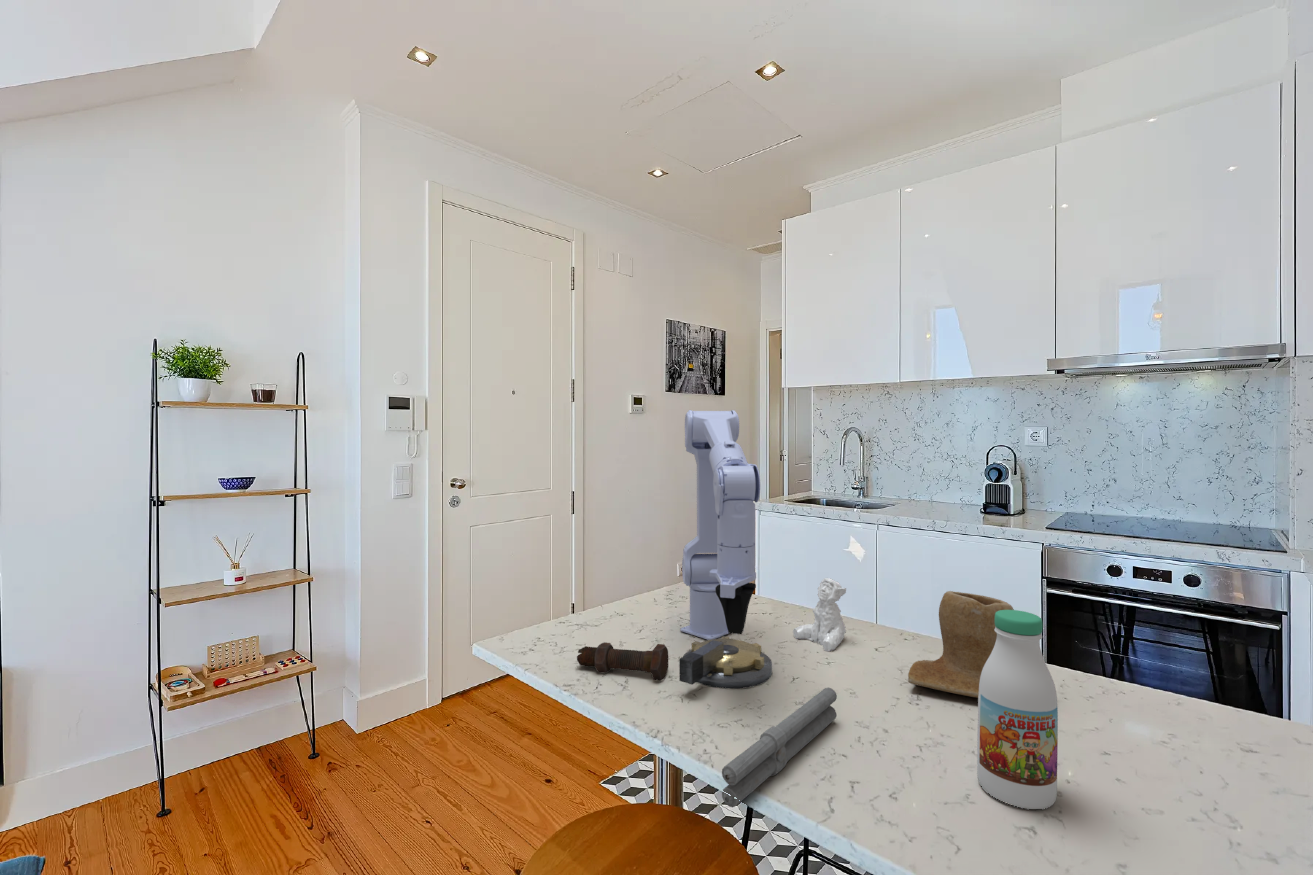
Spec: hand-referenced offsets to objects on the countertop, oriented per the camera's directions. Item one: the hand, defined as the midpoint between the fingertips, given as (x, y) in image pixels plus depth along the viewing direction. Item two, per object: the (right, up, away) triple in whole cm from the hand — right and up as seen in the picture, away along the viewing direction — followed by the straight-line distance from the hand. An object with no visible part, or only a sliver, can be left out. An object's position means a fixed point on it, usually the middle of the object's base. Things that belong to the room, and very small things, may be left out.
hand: (735, 632), depth 93 cm
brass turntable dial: (-2, -8, +6) cm, 10 cm away
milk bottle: (+28, -10, -24) cm, 39 cm away
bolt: (-18, -10, +8) cm, 22 cm away
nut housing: (0, -9, +9) cm, 13 cm away
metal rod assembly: (+4, -10, -18) cm, 21 cm away
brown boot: (+36, -10, +2) cm, 37 cm away
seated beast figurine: (+20, -9, +23) cm, 32 cm away
